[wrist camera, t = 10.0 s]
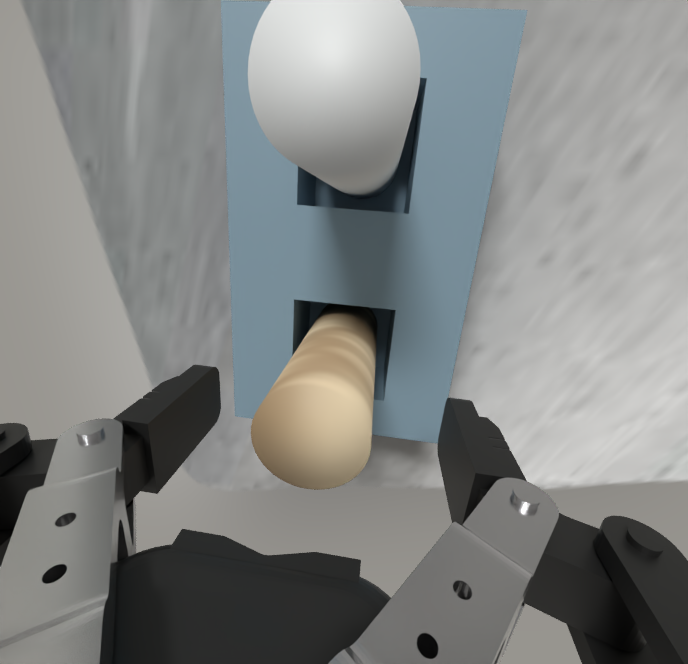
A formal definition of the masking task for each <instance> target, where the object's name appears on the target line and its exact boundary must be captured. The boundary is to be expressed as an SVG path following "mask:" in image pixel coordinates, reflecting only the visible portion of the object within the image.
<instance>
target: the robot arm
mask: <svg viewBox="0 0 688 664" xmlns="http://www.w3.org/2000/svg"><path fill="white" fill-rule="evenodd" d="M220 409H221V401H220V381H219V371H218V369H217V368H216V367H210V366H202V365H193V366H192V367H190V368H189V369H188V370H186V371H185V372H184V373H183V374H181V375H180V376H177V377H174V378H172V379H169V380H167V381H165V382H162V383H161V384H160V385H158V386H157V387H156V388H154V389H153V390H152V392H149V393H147V394H146V395H145V396H143V399H139V400H138V401H137V402H136V403H134V404H133V405H131V406H130V407H129V408H127V409H126V410H124V411H123V412H122V413H120V414H119V415H118V416H116V417H115V418H114V419H95V420H90V421H86V422H83V423H81V424H78V425H76V426H73V427H71V428H70V429H68V430H67V431H65V432H64V433H63V434H62V435H61V436H60V437H59V438H58V439H47V440H30V436H29V432H28V429H27V427H26V426H25V425H22V424H18V423H6V424H0V664H500V662H501V660H502V657H503V655H504V652H505V650H506V648H507V646H508V643H509V641H510V639H511V636H512V634H513V632H514V629H515V627H516V624H517V622H518V620H519V618H520V615H521V613H522V611H523V609H524V606H525V604H528V605H530V606H532V607H534V608H536V609H538V610H540V611H542V612H544V613H546V614H548V615H550V616H552V617H554V618H556V619H558V620H560V621H562V622H564V623H566V624H567V626H568V628H569V631H570V633H571V636H572V638H573V641H574V644H575V646H576V649H577V652H578V654H579V657H580V659H581V662H582V664H688V561H687V560H686V558H685V557H684V556H683V554H682V553H681V552H680V551H679V550H678V549H677V548H676V547H675V545H673V544H672V543H671V542H670V541H669V540H668V539H667V538H665V537H664V536H663V535H661V534H660V533H658V532H657V531H655V530H654V529H652V528H650V527H649V526H646V525H645V524H643V523H640V522H638V521H636V520H633V519H630V518H627V517H622V516H610V517H607V518H605V519H604V520H603V522H602V524H601V526H600V529H598V528H595V527H593V526H590V525H587V524H585V523H582V522H579V521H577V520H574V519H571V518H569V517H566V516H564V515H562V514H560V513H559V511H558V508H557V506H556V504H555V502H554V501H553V500H552V499H551V497H550V496H549V495H548V494H546V493H545V492H544V491H543V490H541V489H540V488H539V487H537V486H535V485H533V484H531V483H529V482H527V481H526V479H525V477H524V475H523V473H522V471H521V469H520V467H519V465H518V464H517V462H516V460H515V458H514V456H513V454H512V452H511V451H510V450H509V449H510V448H509V446H508V445H507V443H506V441H505V439H504V437H503V435H502V433H501V431H500V429H499V428H498V427H497V426H496V425H495V424H494V423H493V422H491V421H490V420H489V419H488V418H486V417H479V416H478V413H477V411H476V409H475V407H474V405H473V403H472V401H470V400H463V399H455V398H447V400H446V403H445V408H444V413H443V417H442V422H441V427H440V432H439V437H438V458H439V463H440V467H441V472H442V477H443V481H444V486H445V491H446V495H447V500H448V505H449V509H450V514H451V519H452V524H451V525H450V527H449V528H448V529H447V530H446V532H445V533H444V534H443V535H442V536H441V538H440V539H439V540H438V541H437V543H436V544H435V545H434V546H433V547H432V549H431V550H430V551H429V552H428V554H427V555H426V556H425V557H424V559H423V560H422V561H421V562H420V563H419V565H418V566H417V567H416V568H415V570H414V571H413V572H412V573H411V575H410V576H409V577H408V578H407V579H406V581H405V582H404V583H403V585H402V586H401V587H400V588H399V589H398V591H397V592H396V593H395V595H394V596H393V597H392V598H390V597H389V596H388V595H387V594H386V593H385V592H383V591H382V590H381V589H380V588H379V587H377V586H375V585H374V584H372V583H371V582H369V581H367V580H365V579H363V578H361V577H359V575H360V563H361V560H358V559H352V558H346V557H341V556H335V555H329V554H323V553H318V552H309V553H298V554H284V555H269V556H268V555H263V554H260V553H258V552H256V551H254V550H252V549H250V548H247V547H246V546H243V545H241V544H239V543H237V542H235V541H233V540H231V539H229V538H227V537H225V536H220V535H214V534H209V533H203V532H197V531H191V530H186V529H182V530H181V532H180V533H179V535H178V536H177V538H176V539H175V541H174V543H173V544H172V545H165V546H160V547H155V548H151V549H148V550H144V551H142V552H139V553H136V505H135V499H134V497H135V496H136V495H137V494H138V493H139V492H140V491H144V492H150V493H156V494H157V493H158V492H159V491H160V490H161V489H162V487H163V486H164V485H165V484H166V483H167V481H168V480H169V479H170V478H171V477H172V475H173V474H174V473H175V472H176V471H177V469H178V468H179V467H180V466H181V465H182V463H183V462H184V461H185V460H186V458H187V457H188V456H189V455H190V454H191V452H192V451H193V450H194V449H195V448H196V446H197V445H198V444H199V443H200V442H201V440H202V439H203V438H204V437H205V436H206V434H207V433H208V432H209V431H210V430H211V428H212V427H213V426H214V425H215V423H216V422H217V420H218V418H219V414H220Z"/></svg>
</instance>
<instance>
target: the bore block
mask: <svg viewBox="0 0 688 664" xmlns="http://www.w3.org/2000/svg"><path fill="white" fill-rule="evenodd" d="M526 14H527V10H509V9H478V8H447V7H416V6H403V4H402V3H401V1H400V0H272V1H271V2H262V1H231V0H221V17H222V47H223V76H224V106H225V135H226V165H227V194H228V223H229V253H230V282H231V312H232V341H233V371H234V400H235V416H237V417H245V418H252V419H253V418H254V415H255V413H256V411H257V410H258V408H259V406H260V405H261V403H262V402H263V400H264V399H265V397H266V396H267V394H268V393H269V391H270V390H271V388H272V386H273V385H274V383H275V382H276V380H277V379H278V377H279V376H280V374H281V373H282V371H283V370H284V368H285V367H286V365H287V364H288V362H289V361H290V359H291V357H292V356H293V354H294V353H295V351H296V350H297V348H298V347H299V345H300V344H301V342H302V341H303V339H304V338H305V336H306V335H307V333H308V332H309V330H310V328H311V327H312V325H313V324H314V322H315V321H316V319H317V318H318V316H319V315H320V313H321V312H322V310H323V309H324V308H325V306H327V305H328V304H329V303H333V304H343V305H352V306H362V307H369V308H370V309H371V310H372V311H373V313H374V315H375V317H376V320H377V344H376V363H375V382H374V401H373V420H372V435H379V436H386V437H393V438H401V439H408V440H416V441H423V442H431V443H438V437H439V432H440V427H441V422H442V417H443V413H444V408H445V403H446V400H447V398H448V395H449V390H450V385H451V380H452V375H453V370H454V366H455V361H456V356H457V351H458V346H459V341H460V336H461V331H462V326H463V322H464V317H465V312H466V307H467V302H468V297H469V292H470V287H471V283H472V278H473V273H474V268H475V263H476V258H477V253H478V248H479V243H480V239H481V234H482V229H483V224H484V219H485V214H486V209H487V204H488V199H489V195H490V190H491V185H492V180H493V175H494V170H495V165H496V160H497V156H498V151H499V146H500V141H501V136H502V131H503V126H504V121H505V116H506V112H507V107H508V102H509V97H510V92H511V87H512V82H513V77H514V72H515V68H516V63H517V58H518V53H519V48H520V43H521V38H522V33H523V29H524V24H525V19H526Z"/></svg>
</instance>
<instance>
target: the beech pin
mask: <svg viewBox="0 0 688 664" xmlns="http://www.w3.org/2000/svg"><path fill="white" fill-rule="evenodd" d="M376 344H377V320H376V317H375V315H374V313H373V311H372V310H371V309H370V308H369V307H362V306H352V305H343V304H333V303H329V304H328V305H327V306H325V308H324V309H323V310H322V312H321V313H320V315H319V316H318V318H317V319H316V321H315V322H314V324H313V325H312V327H311V328H310V330H309V332H308V333H307V335H306V336H305V338H304V339H303V341H302V342H301V344H300V345H299V347H298V348H297V350H296V351H295V353H294V354H293V356H292V357H291V359H290V361H289V362H288V364H287V365H286V367H285V368H284V370H283V371H282V373H281V374H280V376H279V377H278V379H277V380H276V382H275V383H274V385H273V386H272V388H271V390H270V391H269V393H268V394H267V396H266V397H265V399H264V400H263V402H262V403H261V405H260V406H259V408H258V410H257V411H256V413H255V415H254V418H253V421H252V426H251V438H252V443H253V447H254V449H255V452H256V454H257V456H258V458H259V459H260V461H261V462H262V463H263V465H264V466H265V467H266V468H267V469H268V470H269V471H270V472H271V473H273V474H274V475H275V476H277V477H278V478H279V479H281V480H283V481H285V482H287V483H289V484H292V485H294V486H297V487H301V488H306V489H314V490H319V489H330V488H334V487H338V486H340V485H343V484H345V483H347V482H349V481H350V480H352V479H353V478H355V477H356V476H357V475H358V474H359V473H360V472H361V471H362V469H363V468H364V467H365V465H366V463H367V461H368V459H369V456H370V451H371V439H372V420H373V401H374V382H375V363H376Z"/></svg>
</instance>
